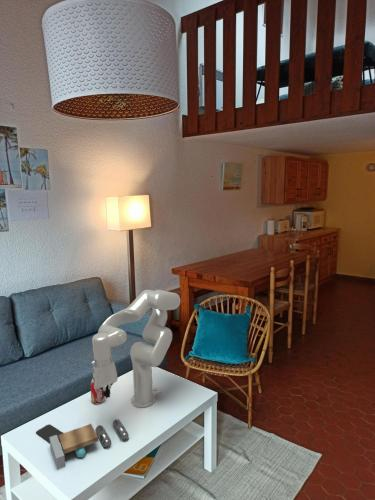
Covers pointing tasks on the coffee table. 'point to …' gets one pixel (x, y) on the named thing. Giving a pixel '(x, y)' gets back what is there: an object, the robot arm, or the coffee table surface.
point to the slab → (77, 438)
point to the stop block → (57, 452)
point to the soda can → (96, 394)
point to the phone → (48, 432)
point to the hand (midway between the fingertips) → (107, 396)
